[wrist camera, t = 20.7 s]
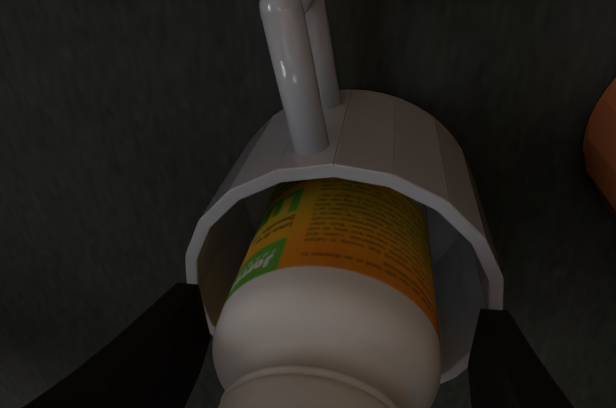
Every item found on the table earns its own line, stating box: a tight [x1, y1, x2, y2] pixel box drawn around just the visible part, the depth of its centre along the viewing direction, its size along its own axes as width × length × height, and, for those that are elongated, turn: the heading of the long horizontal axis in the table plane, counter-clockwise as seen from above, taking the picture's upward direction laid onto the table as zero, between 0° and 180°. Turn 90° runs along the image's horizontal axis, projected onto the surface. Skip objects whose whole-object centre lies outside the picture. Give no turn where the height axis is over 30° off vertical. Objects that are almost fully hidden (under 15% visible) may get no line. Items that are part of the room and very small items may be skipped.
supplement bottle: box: [212, 177, 441, 408], centre depth 12 cm, size 5×5×10 cm
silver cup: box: [185, 0, 504, 384], centre depth 13 cm, size 12×8×5 cm
